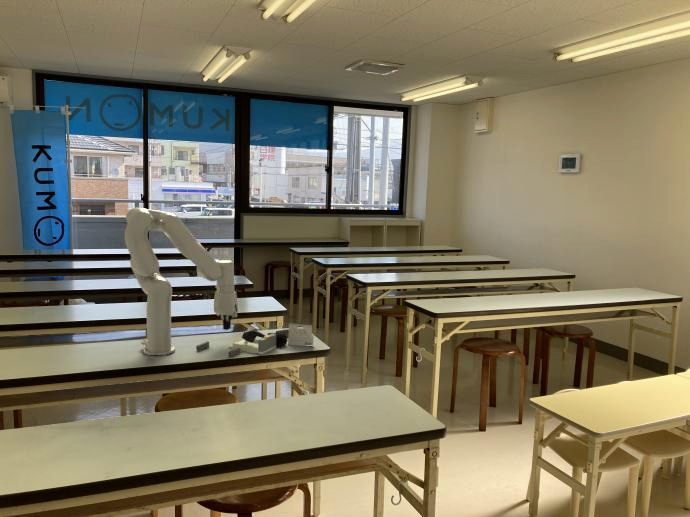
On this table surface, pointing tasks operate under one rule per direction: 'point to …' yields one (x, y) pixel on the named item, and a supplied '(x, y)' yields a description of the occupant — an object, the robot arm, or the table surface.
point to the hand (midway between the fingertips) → (226, 328)
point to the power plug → (251, 335)
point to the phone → (284, 332)
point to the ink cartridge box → (300, 335)
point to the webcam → (280, 339)
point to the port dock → (257, 344)
